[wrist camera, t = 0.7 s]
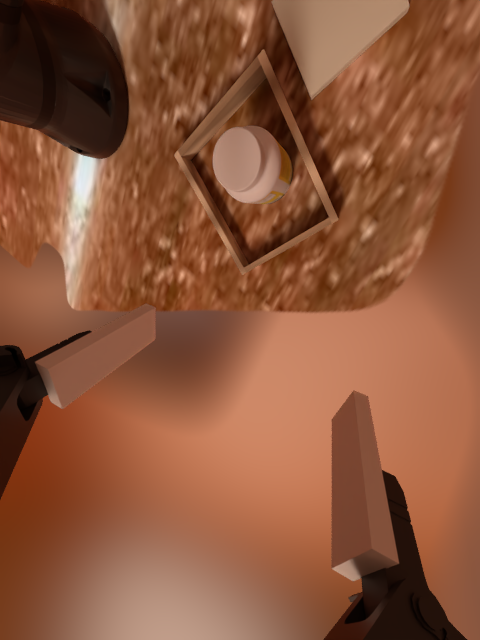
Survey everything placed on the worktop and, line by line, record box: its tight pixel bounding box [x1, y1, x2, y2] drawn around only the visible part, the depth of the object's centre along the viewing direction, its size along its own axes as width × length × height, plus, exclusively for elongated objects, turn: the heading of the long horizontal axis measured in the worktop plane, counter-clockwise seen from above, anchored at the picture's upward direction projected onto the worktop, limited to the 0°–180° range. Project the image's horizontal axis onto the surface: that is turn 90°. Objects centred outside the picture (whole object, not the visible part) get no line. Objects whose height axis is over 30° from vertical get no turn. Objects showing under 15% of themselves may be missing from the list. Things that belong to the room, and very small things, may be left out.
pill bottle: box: [213, 126, 293, 204], centre depth 24 cm, size 6×6×12 cm
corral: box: [174, 49, 339, 275], centre depth 29 cm, size 19×15×2 cm
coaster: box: [272, 0, 410, 100], centre depth 20 cm, size 9×9×1 cm
